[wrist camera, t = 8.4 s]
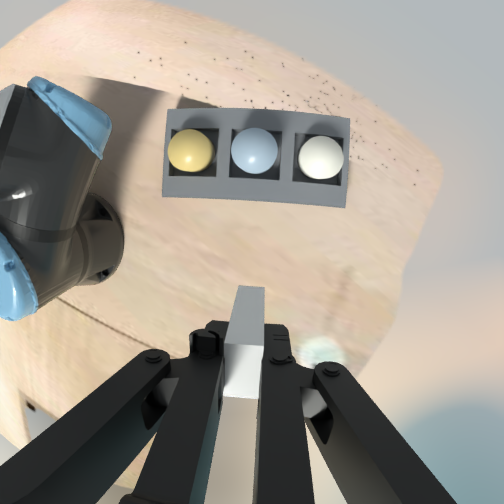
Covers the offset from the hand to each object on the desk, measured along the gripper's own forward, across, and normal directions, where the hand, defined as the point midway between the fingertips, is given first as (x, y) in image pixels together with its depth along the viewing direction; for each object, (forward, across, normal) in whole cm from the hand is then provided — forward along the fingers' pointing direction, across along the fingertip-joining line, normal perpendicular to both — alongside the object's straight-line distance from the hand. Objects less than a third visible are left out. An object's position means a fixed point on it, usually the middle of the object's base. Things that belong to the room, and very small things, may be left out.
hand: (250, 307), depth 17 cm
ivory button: (+23, +7, +11) cm, 27 cm away
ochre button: (+23, -9, +11) cm, 27 cm away
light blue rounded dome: (+22, -1, +11) cm, 24 cm away
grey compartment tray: (+24, -1, +11) cm, 27 cm away
